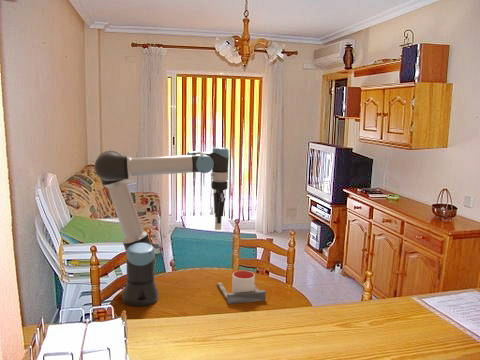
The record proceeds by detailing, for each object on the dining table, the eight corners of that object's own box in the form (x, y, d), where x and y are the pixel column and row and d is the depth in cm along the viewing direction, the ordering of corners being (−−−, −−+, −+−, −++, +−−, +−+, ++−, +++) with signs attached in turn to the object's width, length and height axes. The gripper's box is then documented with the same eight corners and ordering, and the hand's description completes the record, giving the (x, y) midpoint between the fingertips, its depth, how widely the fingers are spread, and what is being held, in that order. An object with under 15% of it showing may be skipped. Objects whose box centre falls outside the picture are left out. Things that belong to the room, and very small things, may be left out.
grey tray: (217, 285, 197) (217, 277, 197) (250, 282, 202) (251, 274, 202) (228, 304, 178) (228, 295, 178) (265, 300, 183) (265, 291, 183)
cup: (232, 290, 193) (233, 269, 191) (254, 291, 192) (255, 271, 191) (230, 299, 183) (231, 278, 181) (253, 301, 182) (254, 279, 181)
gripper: (208, 178, 199) (207, 226, 203) (215, 183, 187) (213, 233, 190) (223, 178, 201) (222, 225, 205) (231, 182, 189) (229, 232, 192)
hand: (218, 229), depth 198 cm, fingers closed
